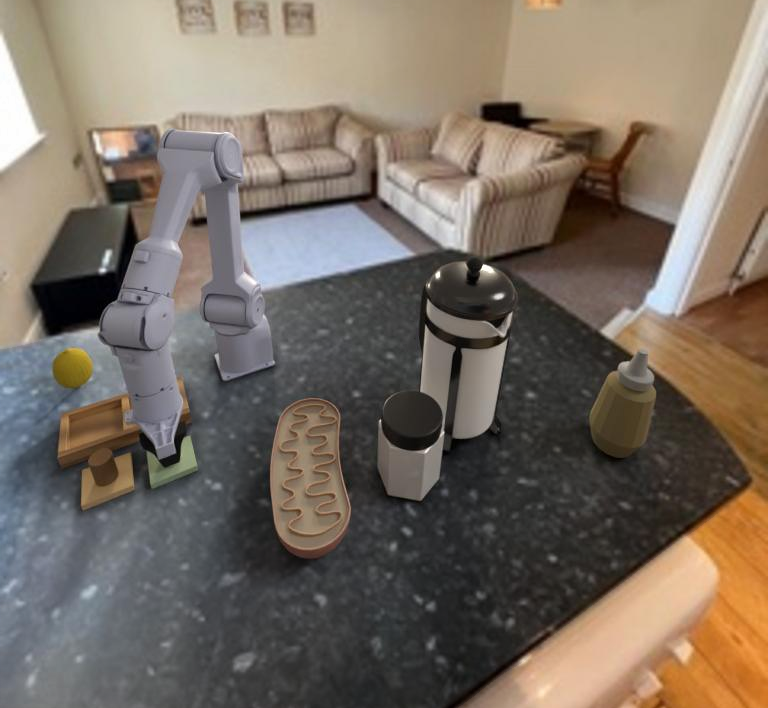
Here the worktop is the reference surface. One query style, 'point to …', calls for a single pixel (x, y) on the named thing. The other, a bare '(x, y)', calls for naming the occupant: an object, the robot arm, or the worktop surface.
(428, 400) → the jar
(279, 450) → the anatomical model
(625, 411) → the squeeze bottle
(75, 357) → the lemon
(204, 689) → the worktop surface
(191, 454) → the sage pad
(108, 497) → the sand pad
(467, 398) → the coffee press
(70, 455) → the divided wooden tray
